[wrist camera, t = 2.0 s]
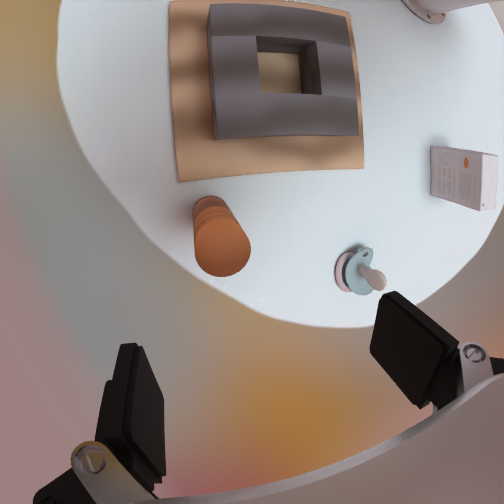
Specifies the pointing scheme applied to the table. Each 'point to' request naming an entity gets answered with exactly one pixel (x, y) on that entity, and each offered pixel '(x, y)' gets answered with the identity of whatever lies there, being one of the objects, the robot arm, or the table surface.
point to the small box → (464, 177)
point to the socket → (263, 88)
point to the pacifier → (359, 273)
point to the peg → (218, 238)
